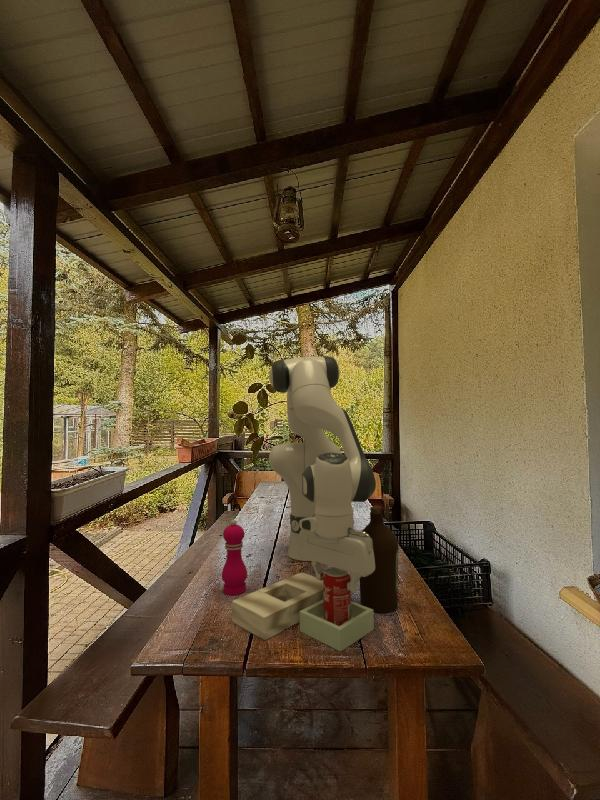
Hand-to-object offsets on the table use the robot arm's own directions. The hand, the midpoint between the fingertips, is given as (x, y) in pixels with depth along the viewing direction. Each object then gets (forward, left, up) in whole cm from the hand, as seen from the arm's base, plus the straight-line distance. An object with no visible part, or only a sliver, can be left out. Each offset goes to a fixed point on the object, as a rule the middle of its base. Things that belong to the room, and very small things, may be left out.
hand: (335, 585), depth 97 cm
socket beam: (+2, -15, -10) cm, 18 cm away
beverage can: (0, 0, -9) cm, 9 cm away
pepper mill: (+3, -35, -10) cm, 37 cm away
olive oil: (-17, 0, -10) cm, 20 cm away
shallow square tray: (0, 0, -10) cm, 10 cm away
